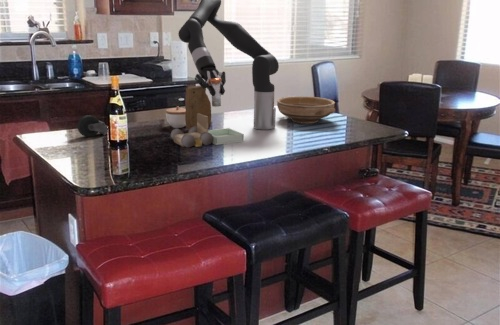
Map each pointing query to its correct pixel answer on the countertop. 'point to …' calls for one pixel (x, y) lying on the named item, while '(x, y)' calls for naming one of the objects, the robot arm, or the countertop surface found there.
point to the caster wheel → (91, 126)
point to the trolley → (194, 134)
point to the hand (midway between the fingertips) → (218, 94)
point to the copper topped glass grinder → (216, 91)
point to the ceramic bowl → (305, 108)
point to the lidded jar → (176, 117)
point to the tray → (226, 136)
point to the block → (196, 105)
